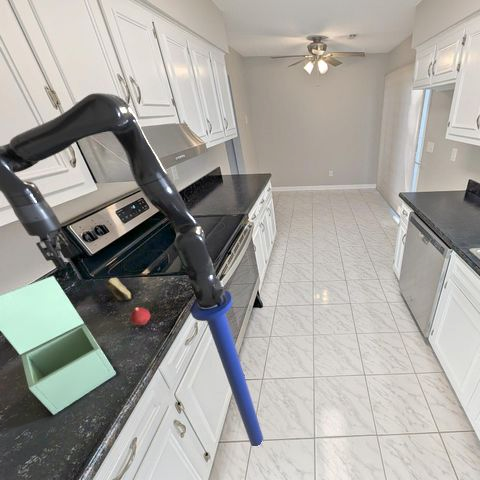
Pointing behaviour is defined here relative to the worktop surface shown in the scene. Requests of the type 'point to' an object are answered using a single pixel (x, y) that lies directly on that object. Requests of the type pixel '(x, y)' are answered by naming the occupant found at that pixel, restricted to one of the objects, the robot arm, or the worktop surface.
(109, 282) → the rock
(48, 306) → the lid
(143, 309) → the onion
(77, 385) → the chest
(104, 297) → the worktop surface
